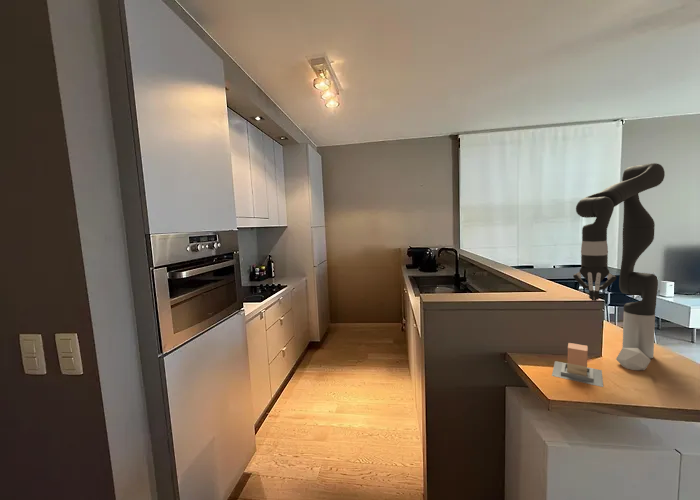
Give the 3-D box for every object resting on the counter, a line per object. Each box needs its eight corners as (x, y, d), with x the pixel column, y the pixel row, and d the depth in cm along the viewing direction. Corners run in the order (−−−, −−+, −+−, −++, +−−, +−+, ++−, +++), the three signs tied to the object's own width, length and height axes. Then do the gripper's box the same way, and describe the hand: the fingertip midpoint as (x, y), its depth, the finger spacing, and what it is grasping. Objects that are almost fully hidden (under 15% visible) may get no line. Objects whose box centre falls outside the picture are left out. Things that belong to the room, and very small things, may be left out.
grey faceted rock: (650, 380, 107) (659, 355, 109) (623, 365, 109) (633, 341, 111) (632, 377, 115) (641, 354, 117) (607, 364, 117) (617, 341, 119)
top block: (568, 357, 114) (568, 342, 113) (587, 360, 110) (587, 345, 110) (567, 363, 109) (567, 347, 109) (587, 366, 106) (587, 351, 105)
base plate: (555, 364, 120) (555, 358, 120) (601, 373, 111) (601, 367, 111) (551, 379, 109) (551, 372, 109) (603, 390, 100) (603, 384, 100)
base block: (567, 367, 114) (568, 357, 114) (586, 371, 111) (587, 360, 110) (567, 373, 110) (567, 363, 109) (586, 378, 106) (587, 366, 106)
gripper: (617, 252, 111) (617, 299, 113) (572, 251, 119) (572, 296, 121) (619, 254, 105) (618, 304, 107) (571, 254, 113) (571, 301, 115)
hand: (593, 300), depth 114 cm, fingers closed
